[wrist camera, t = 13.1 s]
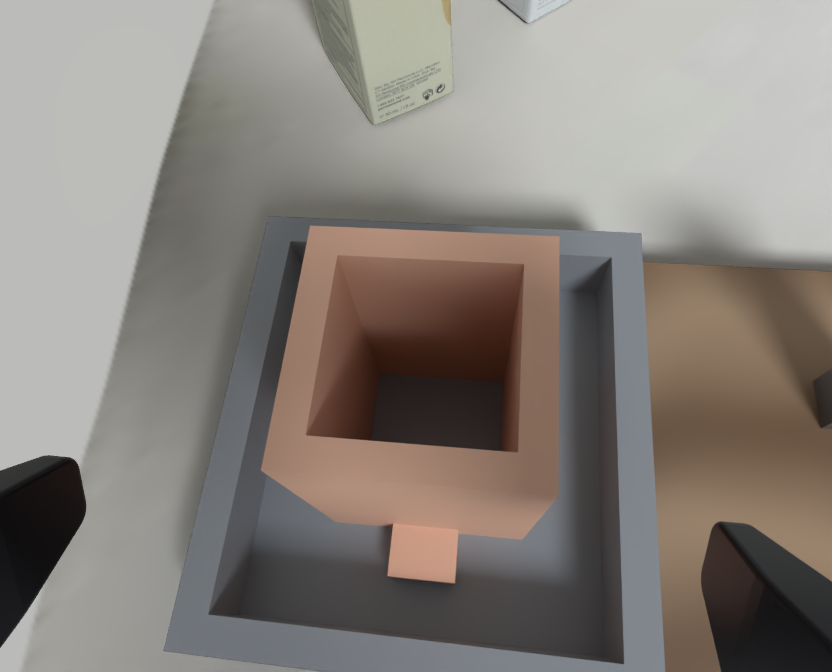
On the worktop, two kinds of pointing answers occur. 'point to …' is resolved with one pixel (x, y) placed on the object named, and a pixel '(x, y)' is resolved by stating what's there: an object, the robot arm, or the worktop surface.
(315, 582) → the charcoal tray
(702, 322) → the walnut base
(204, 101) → the worktop surface
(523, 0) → the supplement box
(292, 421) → the terracotta collar
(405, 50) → the skincare box
